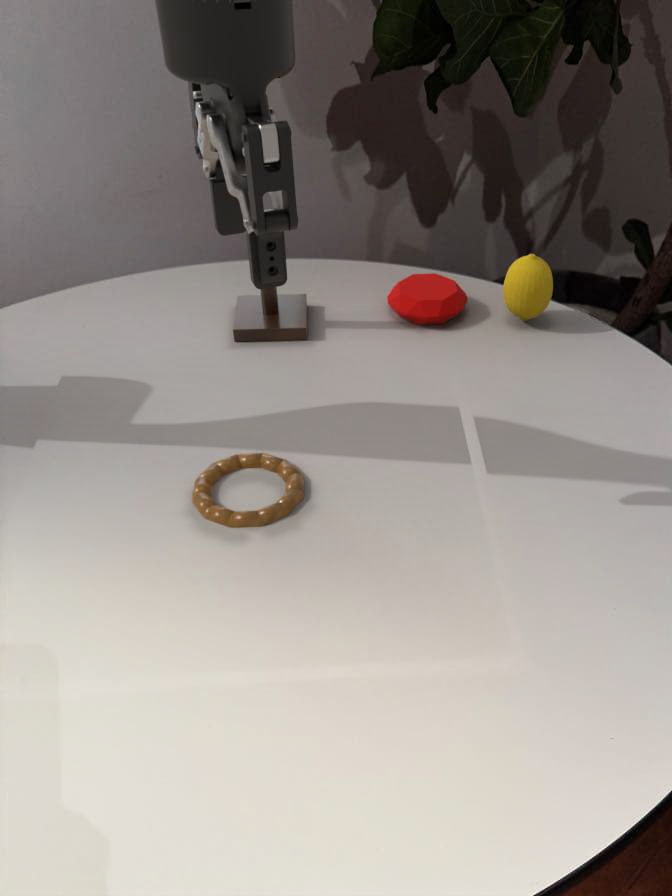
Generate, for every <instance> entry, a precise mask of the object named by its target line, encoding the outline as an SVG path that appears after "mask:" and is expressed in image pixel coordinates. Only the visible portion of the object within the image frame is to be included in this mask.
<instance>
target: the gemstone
mask: <svg viewBox="0 0 672 896" xmlns="http://www.w3.org/2000/svg"><path fill="white" fill-rule="evenodd" d="M386 300H387V304H388V306H390V308H391V309H392V310H393V311H394V312H395V313H396V314H397V315H398V316H399V318H401V319H404V320H406V321H407V322H408V321H409V322H411V323H413V324H415V325H418V326H420V325H421V326H422V325H443V324H444V323H446V322H447V321H449V320H451V319H452V318H454V317H456V316H457V315H458V314H459V313H461V312H463V310H464V309H465V306H466V304H467V302H468V296H467V293H466V292H465V291H464V290H463V288H462V287H461V286H460V285H459V284H458V283H457V282H456V280H454V279H451V278H449V277H446V276H444V275H442V274H439V273H436V272H434V273H433V272H432V273H412V274H410V275H408V276H407V277H405V278H403V279H401V280H399V281H398V282H397V283H396V284H395V285H394V286H393V287H392V289H391V290H390V291H389V293H388V294H387V296H386Z"/></svg>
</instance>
